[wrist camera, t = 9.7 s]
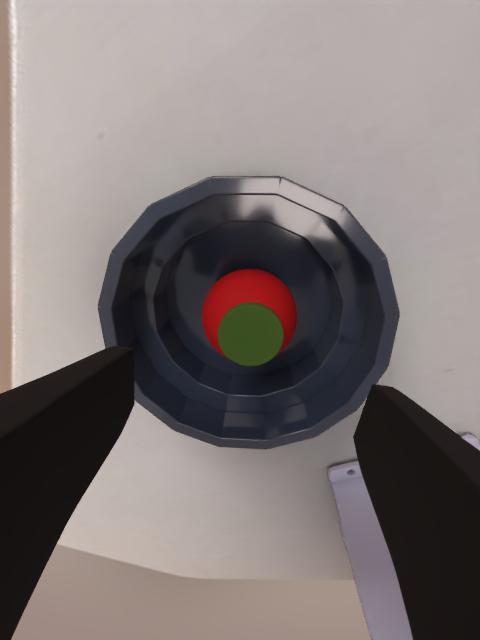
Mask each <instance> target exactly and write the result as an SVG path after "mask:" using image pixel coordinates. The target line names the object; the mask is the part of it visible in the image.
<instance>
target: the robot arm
mask: <svg viewBox="0 0 480 640" xmlns="http://www.w3.org/2000/svg"><path fill="white" fill-rule="evenodd" d="M133 406H134V348H127V347H120V346H112V347H109V348H107V349H104V350H102V351H99V352H97V353H95V354H93V355H90V356H88V357H86V358H84V359H82V360H79V361H77V362H75V363H73V364H71V365H68V366H66V367H64V368H62V369H59V370H57V371H55V372H53V373H50V374H48V375H46V376H43V377H41V378H38V379H36V380H33V381H31V382H29V383H26V384H24V385H21V386H19V387H16V388H14V389H11V390H9V391H6V392H4V393H1V394H0V640H11V638H12V636H13V634H14V631H15V629H16V627H17V625H18V623H19V620H20V618H21V616H22V614H23V612H24V610H25V608H26V606H27V603H28V601H29V599H30V597H31V595H32V593H33V591H34V589H35V587H36V585H37V583H38V580H39V578H40V576H41V574H42V572H43V570H44V568H45V566H46V564H47V562H48V560H49V558H50V556H51V554H52V552H53V550H54V548H55V546H56V544H57V542H58V540H59V538H60V536H61V534H62V532H63V530H64V528H65V526H66V524H67V522H68V520H69V519H70V517H71V515H72V513H73V512H74V510H75V508H76V506H77V504H78V503H79V501H80V500H81V498H82V496H83V495H84V493H85V492H86V490H87V488H88V487H89V485H90V483H91V482H92V480H93V479H94V477H95V475H96V474H97V472H98V471H99V469H100V467H101V466H102V464H103V462H104V461H105V459H106V458H107V456H108V454H109V453H110V451H111V449H112V448H113V446H114V444H115V443H116V441H117V440H118V438H119V436H120V434H121V433H122V431H123V428H124V426H125V424H126V422H127V420H128V418H129V415H130V413H131V411H132V408H133ZM353 438H354V443H355V448H356V453H357V458H358V461H354V462H350V463H346V464H342V465H338V466H333V467H331V468H330V469H328V476H329V479H330V481H331V484H332V488H333V492H334V497H335V501H336V505H337V509H338V513H339V518H340V522H339V525H340V530H341V534H342V537H343V541H344V544H345V547H346V549H347V552H348V555H349V559H350V564H351V568H352V572H353V576H354V580H355V584H356V588H357V592H358V595H359V599H360V603H361V606H362V610H363V613H364V617H365V620H366V623H367V627H368V630H369V633H370V637H371V640H480V441H479V440H478V439H477V437H476V436H474V435H465V436H459V435H458V434H456V433H455V432H454V431H452V430H451V429H450V428H448V427H447V426H446V425H444V424H443V423H442V422H440V421H439V420H438V419H436V418H435V417H434V416H433V415H431V414H430V413H429V412H427V411H426V410H425V409H423V408H422V407H421V406H419V405H418V404H417V403H415V402H414V401H413V400H411V399H410V398H408V397H407V396H406V395H404V394H403V393H401V392H400V391H398V390H397V389H395V388H393V387H388V386H382V385H375V384H372V386H371V389H370V392H369V394H368V397H367V400H366V403H365V406H364V408H363V411H362V414H361V417H360V420H359V422H358V425H357V428H356V431H355V434H354V436H353ZM349 470H351V471H349Z"/></svg>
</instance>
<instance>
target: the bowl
mask: <svg viewBox="0 0 480 640" xmlns="http://www.w3.org/2000/svg"><path fill="white" fill-rule="evenodd" d="M241 269H258V270H263V271H265V272H268V273H270V274H272V275H274V276H276V277H277V278H278V279H280V280H281V281H282V282H283V283H284V284H285V285H286V286H287V288H288V289H289V291H290V292H291V294H292V296H293V298H294V301H295V304H296V309H297V323H296V328H295V332H294V334H293V337H292V339H291V340H290V342H289V344H288V345H287V346H286V347H285V349H284V350H283V351H282V352H280V353H279V354H278V355H276V356H275V357H274V358H272V359H271V360H270V361H268V362H266V363H264V364H261V365H258V366H243V365H240V364H237V363H235V362H233V361H231V360H230V359H227V358H226V357H224V356H222V355H221V354H220V353H219V352H217V351H216V350H215V349H214V347H213V346H212V345H211V343H210V342H209V340H208V339H207V337H206V334H205V332H204V328H203V324H202V310H203V304H204V301H205V298H206V296H207V294H208V292H209V291H210V289H211V288H212V286H213V285H214V284H215V283H216V282H217V281H218V280H219V279H220V278H222V277H223V276H225V275H227V274H229V273H231V272H234V271H237V270H241ZM98 306H99V307H98V311H99V317H100V322H101V327H102V332H103V338H104V343H105V348H106V349H107V348H109V347H112V346H120V347H127V348H134V399H135V401H136V402H138V403H139V404H140V405H141V406H143V407H144V408H145V409H147V410H148V411H149V412H150V413H152V414H153V415H154V416H156V417H157V418H158V419H159V420H161V421H162V422H163V423H165V424H166V425H167V426H168V427H170V428H171V429H173V430H174V431H176V432H179V433H182V434H185V435H187V436H190V437H193V438H196V439H198V440H201V441H204V442H207V443H209V444H212V445H215V446H218V447H230V448H249V449H271V448H275V447H279V446H283V445H286V444H290V443H294V442H298V441H302V440H306V439H310V438H313V437H315V436H318V435H319V434H321V433H323V432H324V431H326V430H327V429H329V428H330V427H332V426H333V425H335V424H336V423H338V422H339V421H341V420H342V419H344V418H345V417H347V416H349V415H350V414H352V413H353V412H355V411H356V410H357V409H358V408H359V407H360V406H361V404H362V403H363V402H364V400H365V399H366V397H367V396H368V394H369V392H370V389H371V386H372V384H375V385H376V384H377V382H378V381H379V379H380V378H381V377H382V375H383V374H384V373H385V371H386V370H387V368H388V366H389V362H390V357H391V353H392V348H393V343H394V339H395V334H396V330H397V325H398V321H399V316H400V315H399V313H400V312H399V307H398V303H397V299H396V295H395V290H394V286H393V282H392V278H391V274H390V269H389V265H388V261H387V257H386V256H385V254H384V252H383V251H382V250H381V249H380V248H379V246H378V245H377V244H376V243H375V242H374V240H373V239H372V238H371V237H370V235H369V234H368V233H367V232H366V231H365V229H364V228H363V227H362V226H361V225H360V223H359V222H358V221H357V220H356V219H355V217H354V216H353V215H352V214H351V212H350V211H349V210H348V209H347V208H346V207H344V205H342V204H340V203H338V202H336V201H334V200H332V199H329V198H327V197H325V196H323V195H321V194H319V193H317V192H314V191H312V190H310V189H308V188H306V187H304V186H301V185H299V184H297V183H295V182H293V181H291V180H289V179H286V178H284V177H280V176H212V177H208V178H206V179H204V180H201V181H199V182H197V183H195V184H193V185H191V186H189V187H186V188H184V189H182V190H180V191H178V192H176V193H174V194H171V195H169V196H167V197H165V198H163V199H161V200H159V201H156V202H154V203H152V204H151V205H150V206H148V207H147V208H146V210H145V211H144V212H143V213H142V215H141V216H140V217H139V218H138V219H137V221H136V222H135V223H134V224H133V226H132V227H131V228H130V229H129V230H128V232H127V233H126V234H125V235H124V237H123V238H122V239H121V240H120V241H119V243H118V244H117V245H116V246H115V248H114V249H113V250H112V253H111V254H110V257H109V262H108V266H107V270H106V274H105V278H104V282H103V286H102V290H101V295H100V299H99V303H98Z"/></svg>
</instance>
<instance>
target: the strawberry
mask: <svg viewBox="0 0 480 640" xmlns="http://www.w3.org/2000/svg"><path fill="white" fill-rule="evenodd" d="M296 323H297V309H296V304H295V301H294V298H293V296H292V294H291V292H290V291H289V289H288V288H287V286H286V285H285V284H284V283H283V282H282V281H281V280H280V279H278V278H277V277H276V276H274V275H272V274H270V273H268V272H265V271H263V270H258V269H241V270H237V271H234V272H231V273H229V274H227V275H225V276H223V277H222V278H220V279H219V280H218V281H217V282H216V283H215V284H214V285H213V286H212V288H211V289H210V291H209V292H208V294H207V296H206V298H205V301H204V304H203V310H202V324H203V328H204V332H205V334H206V337H207V339H208V340H209V342H210V343H211V345H212V346H213V347H214V349H215V350H216V351H217V352H219V353H220V354H221V355H222V356H224V357H226V358H227V359H230V360H231V361H233V362H235V363H237V364H240V365H243V366H258V365H261V364H264V363H266V362H268V361H270V360H271V359H272V358H274V357H275V356H276V355H278V354H279V353H280V352H282V351H283V350H284V349H285V347H286V346H287V345H288V344H289V342H290V340H291V339H292V337H293V334H294V332H295V328H296Z"/></svg>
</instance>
